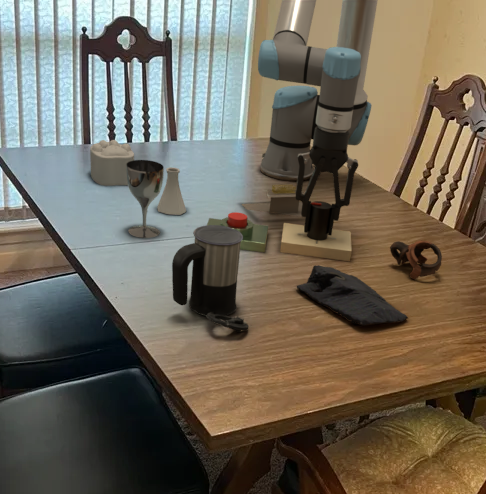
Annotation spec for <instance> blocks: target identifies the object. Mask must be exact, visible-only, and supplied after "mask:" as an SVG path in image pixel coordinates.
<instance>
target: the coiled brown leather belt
mask: <svg viewBox="0 0 486 494" xmlns="http://www.w3.org/2000/svg"><path fill="white" fill-rule="evenodd" d="M389 249H390V250H389V251H390V255H391V256H392V257H393V258H394V259H395V261H396V263H397V265H398V266H401V265H404V264H406V263H409V264H410V266H411V267H412V268H413V269H412V271H411V272H410V273H409V277H410V278H411V279H413V280H417V279H418V278H419V277H420V278H422V277H428V276H431V275H434V274H436V272H438V271H439V270H440V268H441V266H442V260H443V254H442V251H441V250H440V248H439V247H438V246H437V245H436V244H435V243H432V242H431V241H427V240H417V241H415V242H414V243H413V242H412V243H411V244H406V243H405V242H403V241H401V240H400V241H399V240H397V241H394V242H392V244H391V245H390V246H389ZM429 249H431V250H432V251H433V253H434V254H435V255H436V257H437V260H436V261H435V262H433V263H430V264H429V263H427V261H428V258H427V257H426V256H424V255H423V254H422V253H423V252H424V250H429Z"/></svg>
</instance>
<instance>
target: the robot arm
mask: <svg viewBox="0 0 486 494" xmlns="http://www.w3.org/2000/svg"><path fill="white" fill-rule="evenodd" d="M316 3H317V0H281V3H280V6H279V11H278V16H277V19H276V24H275V28H274V34H273V37H272V39H264V40H262V42H261V43H260V45H259V50H258V51H259V52H258V58H257V71H258V74H259V75H260V76H261V77H263V78H267V79H271V80H275V81H281V82H289V83H297V84H304V85H287V86H283V87H280V88H278V89H277V90H276V91H275V93H274V95H273V103H272V106H271V108H272V111H271V112H272V113H271V121H270V123H271V124H270V133H269V140H268V145H267V148H266V150H265V152H264V153H262V156H261V158H262V159H261V162H260V166H259V167H260V172H261V173H262V174H263V175H265V176H267V177H270V178H272V179H276V180H281V181H286V182H287V181H289V182H296V186H295V187H296V189H295V190H296V200H299V202H302V210H301V215H302V217H301V218H305V219H304V232H305V233H307V232H308V225H309V218H310V210H311V202H312V201H311V200H310V199H311V197H312V194H313V192H314V189H315V187H316V184H317V182H318V179H319V177H320V176H321V173H329V174H332V181H333V191H334V192H333V193H334V203H331V205H332V210H331V216H330V223H329V229H328V235H332V229H334V228H333V227H334V221H335V222H338V221H339V219H340V215H341V214H340V213H341V209H342V208H343V207H345V206H346V207H348V206H350V204H351V203H350V202H351V198H352V190H353V186H354V185H353V184H354V178H355V173H356V171H357V169H358V168H359V162H358V159H353V158H351V157H350V156H349V154H348V146H358V145H360V144H361V142H362V141H363V139H364V136H365V132H366V129H367V126H368V122H369V118H370V115H371V111H372V103H371V102H370V101H368V97H369V95H368V94H367V92H366V91H365V90H364V88H365V79H366V75H367V69H368V62H369V55H370V49H371V43H372V37H373V31H374V25H375V18H376V12H377V6H378V0H342V2H341V10H340V17H339V25H338V33H337V40H336V46H332V47H329V48H328V47H327V48H322V47H316V46H310V45H308V41H309V36H310V32H311V26H312V21H313V18H314V13H315V8H316ZM314 86H316V87H320V88H319V92H318V89H317V88H316V87H314ZM318 93H319V94H318ZM312 140H313V141H312ZM311 142H312V146H311ZM345 164H346V167H347V169H348V170H347V176H346V182H345V189H344V194H343V198H341V189H340V188H341V187H340V177H339V170H340V169H342V168H343V166H344V165H345ZM308 180H309V181H308ZM304 181H308V184H307V186H306V189H305V191H304V193H305V194H302V192H303V186H304Z"/></svg>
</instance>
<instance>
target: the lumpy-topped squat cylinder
mask: <svg viewBox="0 0 486 494" xmlns="http://www.w3.org/2000/svg"><path fill="white" fill-rule="evenodd" d="M89 155H90V177H91V179H92V181H94V182H95V183H96V184H97V185H99V186H103V187H112V186H128V183H127V174H126V164H127V163H128V162H130V161H134V160H135V153H134V151H133V149H132V147H131V145H130V144H128V143H123V144H121V143H119V142H118V140H116V139H112V140H110V141H106V140H105V139H101V140H100V141H99V142H96V143H93V144H92V145H91V146H90V147H89Z"/></svg>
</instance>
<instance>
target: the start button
mask: <svg viewBox="0 0 486 494" xmlns="http://www.w3.org/2000/svg"><path fill="white" fill-rule="evenodd" d="M227 214H228V215H227V217H228V225H230V226H233V227H245V226H247V220H248V215H246V214H245V213H243V212H236V211H235V212H230V213H227Z"/></svg>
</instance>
